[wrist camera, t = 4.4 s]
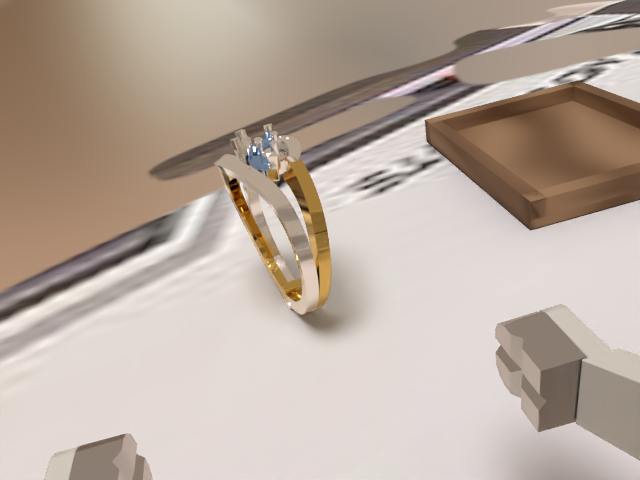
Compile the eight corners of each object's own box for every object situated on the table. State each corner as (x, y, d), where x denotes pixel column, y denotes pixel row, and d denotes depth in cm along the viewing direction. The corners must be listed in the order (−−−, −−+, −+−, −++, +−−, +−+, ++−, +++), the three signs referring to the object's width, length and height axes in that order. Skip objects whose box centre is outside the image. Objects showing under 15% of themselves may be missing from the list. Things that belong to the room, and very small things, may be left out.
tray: (576, 102, 37) (577, 80, 36) (739, 171, 26) (747, 142, 25) (426, 141, 36) (424, 119, 35) (530, 230, 25) (531, 202, 24)
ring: (365, 331, 21) (330, 145, 17) (291, 365, 21) (237, 178, 16) (299, 255, 27) (261, 101, 23) (240, 279, 26) (189, 124, 22)
